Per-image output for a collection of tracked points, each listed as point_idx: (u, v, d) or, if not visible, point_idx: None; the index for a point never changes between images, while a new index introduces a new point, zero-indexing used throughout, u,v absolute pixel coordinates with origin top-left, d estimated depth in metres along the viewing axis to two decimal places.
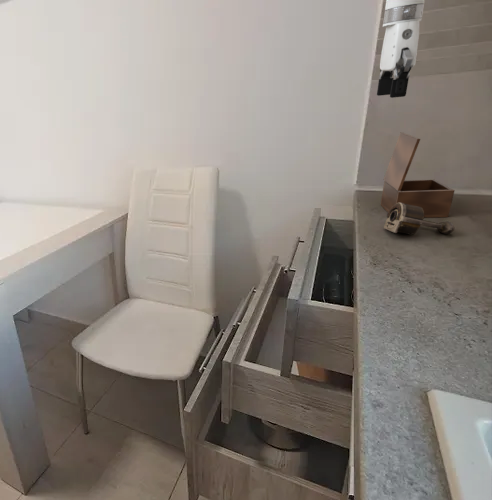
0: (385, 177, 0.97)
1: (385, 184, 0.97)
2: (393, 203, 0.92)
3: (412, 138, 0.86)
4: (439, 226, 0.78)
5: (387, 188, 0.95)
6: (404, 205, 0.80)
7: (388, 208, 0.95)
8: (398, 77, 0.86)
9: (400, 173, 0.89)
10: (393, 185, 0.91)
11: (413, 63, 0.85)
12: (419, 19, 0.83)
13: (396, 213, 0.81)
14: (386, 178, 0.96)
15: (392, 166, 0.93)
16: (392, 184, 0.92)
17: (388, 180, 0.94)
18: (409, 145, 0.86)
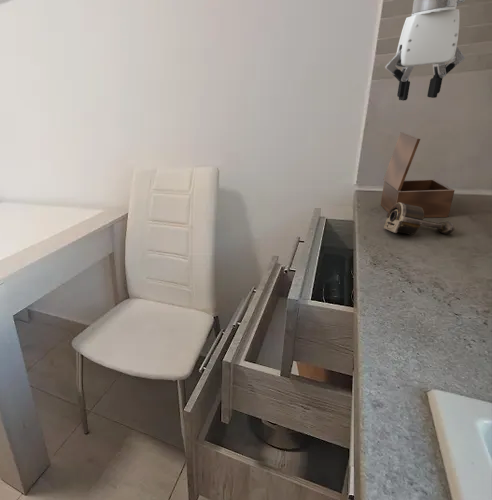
0: (385, 177, 0.97)
1: (385, 184, 0.97)
2: (393, 203, 0.92)
3: (412, 138, 0.86)
4: (439, 226, 0.78)
5: (387, 188, 0.95)
6: (404, 205, 0.80)
7: (388, 208, 0.95)
8: (444, 75, 0.81)
9: (400, 173, 0.89)
10: (393, 185, 0.91)
11: None
12: None
13: (396, 213, 0.81)
14: (386, 178, 0.96)
15: (392, 166, 0.93)
16: (392, 184, 0.92)
17: (388, 180, 0.94)
18: (409, 145, 0.86)
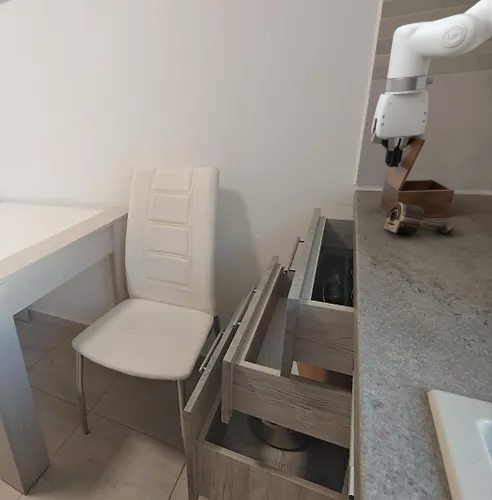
0: (385, 177, 0.97)
1: (385, 184, 0.97)
2: (393, 203, 0.92)
3: (417, 139, 0.85)
4: (439, 226, 0.78)
5: (387, 188, 0.95)
6: (404, 205, 0.80)
7: (388, 208, 0.95)
8: (404, 147, 0.88)
9: (401, 174, 0.89)
10: (393, 185, 0.91)
11: None
12: None
13: (396, 213, 0.81)
14: (386, 178, 0.96)
15: None
16: (392, 184, 0.92)
17: (389, 180, 0.94)
18: (413, 146, 0.86)
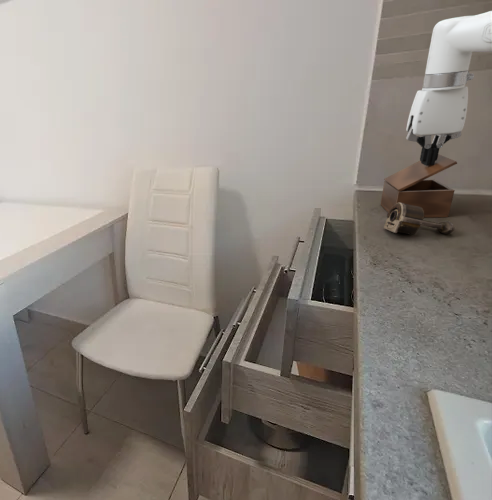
0: (387, 178, 0.97)
1: (385, 184, 0.97)
2: (393, 203, 0.92)
3: (449, 159, 0.86)
4: (439, 226, 0.78)
5: (387, 188, 0.95)
6: (404, 205, 0.80)
7: (388, 208, 0.95)
8: None
9: (411, 179, 0.89)
10: (395, 185, 0.91)
11: None
12: None
13: (396, 213, 0.81)
14: (389, 178, 0.96)
15: (405, 173, 0.93)
16: (394, 184, 0.92)
17: (391, 180, 0.94)
18: (440, 163, 0.86)
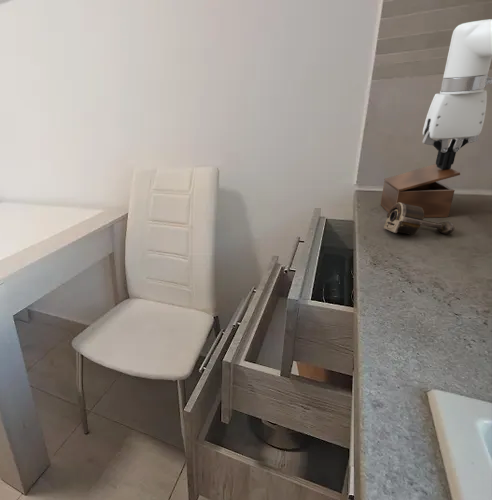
0: (388, 178, 0.97)
1: (385, 184, 0.97)
2: (393, 203, 0.92)
3: (452, 170, 0.86)
4: (439, 226, 0.78)
5: (387, 188, 0.95)
6: (404, 205, 0.80)
7: (388, 208, 0.95)
8: None
9: (413, 182, 0.89)
10: (395, 185, 0.91)
11: None
12: None
13: (396, 213, 0.81)
14: (389, 179, 0.96)
15: (406, 176, 0.93)
16: (394, 184, 0.92)
17: (392, 181, 0.94)
18: (443, 172, 0.87)
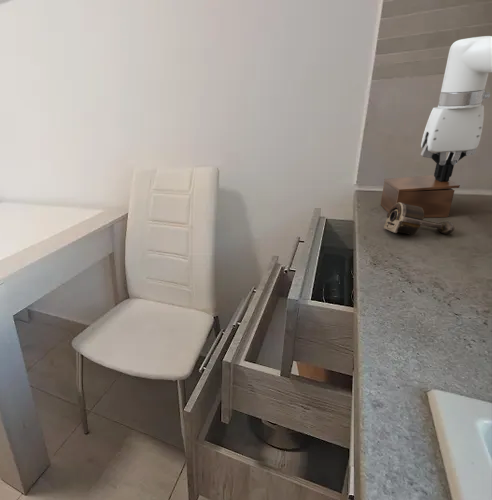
0: (388, 179, 0.97)
1: (385, 184, 0.97)
2: (393, 203, 0.92)
3: (452, 182, 0.87)
4: (439, 226, 0.78)
5: (387, 188, 0.95)
6: (404, 205, 0.80)
7: (388, 208, 0.95)
8: None
9: (413, 186, 0.89)
10: (396, 185, 0.91)
11: None
12: None
13: (396, 213, 0.81)
14: (389, 180, 0.96)
15: (407, 180, 0.94)
16: (395, 185, 0.92)
17: (392, 181, 0.94)
18: (444, 183, 0.88)
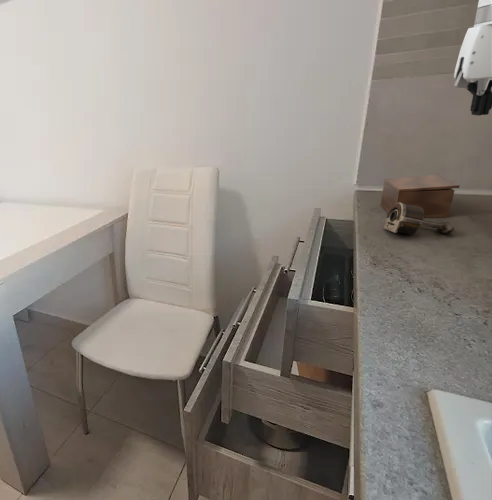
0: (388, 179, 0.97)
1: (385, 184, 0.97)
2: (393, 203, 0.92)
3: (452, 182, 0.87)
4: (439, 226, 0.78)
5: (387, 188, 0.95)
6: (404, 205, 0.80)
7: (388, 208, 0.95)
8: None
9: (413, 186, 0.89)
10: (396, 185, 0.91)
11: None
12: None
13: (396, 213, 0.81)
14: (389, 180, 0.96)
15: (407, 180, 0.94)
16: (395, 185, 0.92)
17: (392, 181, 0.94)
18: (444, 183, 0.88)
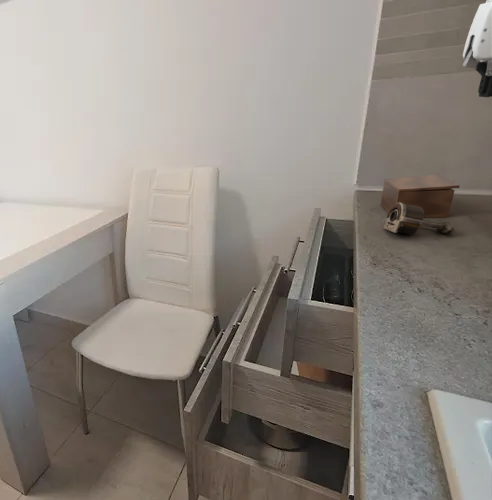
0: (388, 179, 0.97)
1: (385, 184, 0.97)
2: (393, 203, 0.92)
3: (452, 182, 0.87)
4: (439, 226, 0.78)
5: (387, 188, 0.95)
6: (404, 205, 0.80)
7: (388, 208, 0.95)
8: None
9: (413, 186, 0.89)
10: (396, 185, 0.91)
11: None
12: None
13: (396, 213, 0.81)
14: (389, 180, 0.96)
15: (407, 180, 0.94)
16: (395, 185, 0.92)
17: (392, 181, 0.94)
18: (444, 183, 0.88)
